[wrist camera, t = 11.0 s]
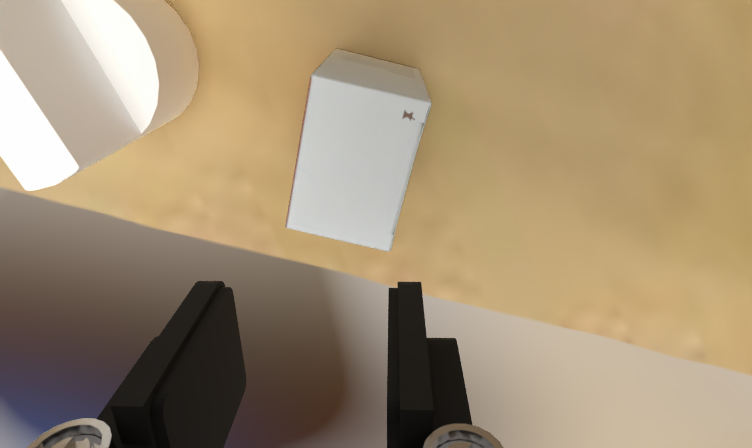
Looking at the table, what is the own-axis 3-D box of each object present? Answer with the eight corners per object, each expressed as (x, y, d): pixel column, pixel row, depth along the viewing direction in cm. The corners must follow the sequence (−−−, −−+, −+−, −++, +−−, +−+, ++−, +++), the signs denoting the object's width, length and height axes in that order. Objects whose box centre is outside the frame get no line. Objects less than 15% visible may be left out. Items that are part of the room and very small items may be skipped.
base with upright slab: (224, 98, 33) (139, 149, 22) (111, 147, 34) (-22, 217, 23) (149, -46, 29) (4, -72, 18) (27, 16, 31) (-173, 26, 20)
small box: (335, 46, 31) (309, 67, 21) (422, 68, 31) (434, 98, 22) (312, 166, 34) (281, 230, 25) (391, 184, 35) (390, 255, 25)
